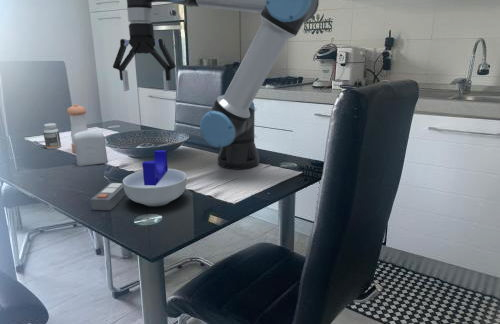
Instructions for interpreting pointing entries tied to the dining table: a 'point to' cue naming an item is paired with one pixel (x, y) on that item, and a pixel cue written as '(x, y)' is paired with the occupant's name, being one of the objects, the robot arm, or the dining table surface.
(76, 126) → the pepper shaker
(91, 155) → the photo printer
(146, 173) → the blue bridge block
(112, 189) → the power strip
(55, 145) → the pill bottle
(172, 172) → the cereal bowl
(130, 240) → the dining table surface
